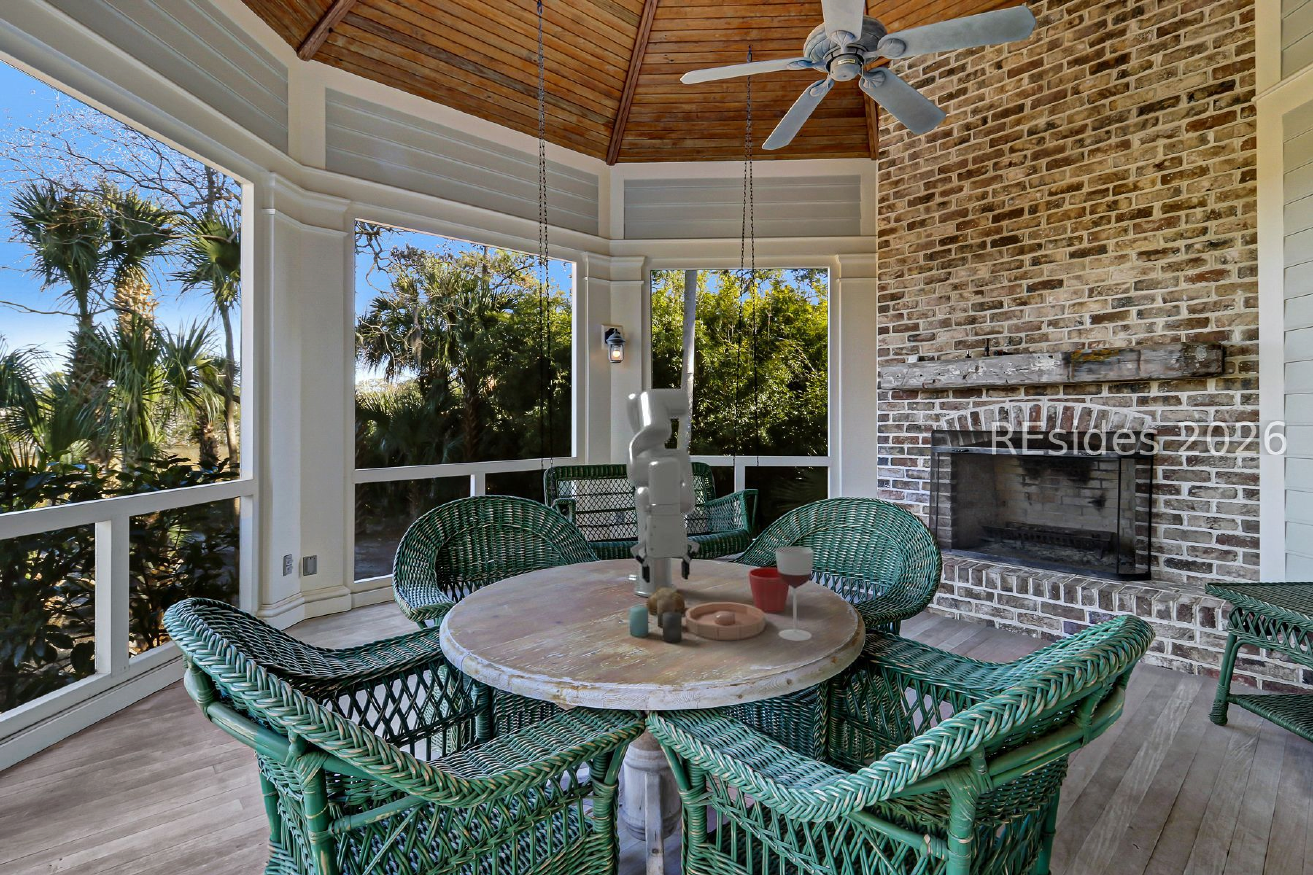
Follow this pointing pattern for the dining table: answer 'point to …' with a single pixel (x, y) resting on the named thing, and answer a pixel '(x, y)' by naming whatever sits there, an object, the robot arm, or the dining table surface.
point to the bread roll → (665, 594)
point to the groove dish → (725, 621)
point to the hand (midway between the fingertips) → (666, 579)
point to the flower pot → (768, 590)
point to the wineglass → (794, 580)
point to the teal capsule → (639, 621)
